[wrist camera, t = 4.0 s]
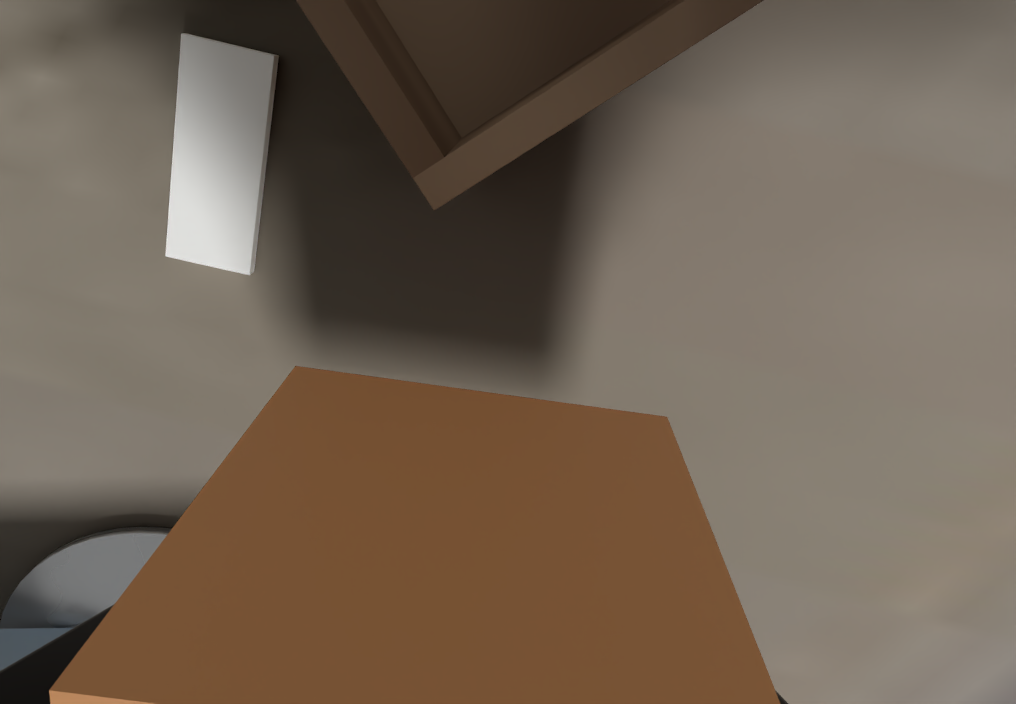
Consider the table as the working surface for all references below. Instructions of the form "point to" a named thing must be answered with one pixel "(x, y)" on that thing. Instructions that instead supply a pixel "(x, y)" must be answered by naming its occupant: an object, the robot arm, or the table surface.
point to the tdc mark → (219, 153)
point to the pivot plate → (81, 578)
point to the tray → (497, 70)
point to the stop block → (431, 563)
